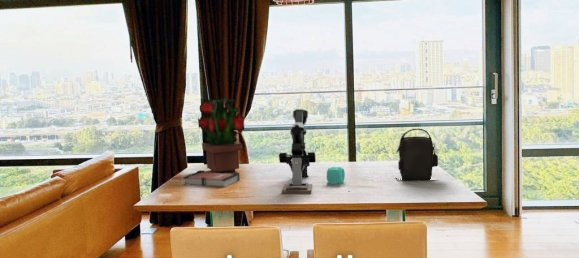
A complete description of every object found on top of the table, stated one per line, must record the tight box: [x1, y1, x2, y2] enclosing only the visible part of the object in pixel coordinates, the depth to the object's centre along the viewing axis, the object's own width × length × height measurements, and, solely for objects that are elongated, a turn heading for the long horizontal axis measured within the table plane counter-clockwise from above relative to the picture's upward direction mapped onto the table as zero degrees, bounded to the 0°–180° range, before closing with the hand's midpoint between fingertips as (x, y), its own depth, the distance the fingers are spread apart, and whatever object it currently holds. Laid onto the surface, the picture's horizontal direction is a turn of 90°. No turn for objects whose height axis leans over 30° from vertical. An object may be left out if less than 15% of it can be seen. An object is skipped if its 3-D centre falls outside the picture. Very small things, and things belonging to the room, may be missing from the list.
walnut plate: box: [281, 182, 313, 195], centre depth 243 cm, size 14×14×2 cm
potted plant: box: [197, 98, 245, 174], centre depth 296 cm, size 22×22×45 cm
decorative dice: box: [326, 166, 346, 185], centre depth 257 cm, size 8×8×8 cm
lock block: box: [291, 157, 303, 185], centre depth 241 cm, size 5×4×14 cm
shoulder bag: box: [395, 128, 439, 182], centre depth 259 cm, size 23×9×28 cm, turn 87°
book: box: [183, 170, 241, 188], centre depth 267 cm, size 26×18×5 cm
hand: (296, 171), depth 240 cm, fingers closed on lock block, 4 cm apart
